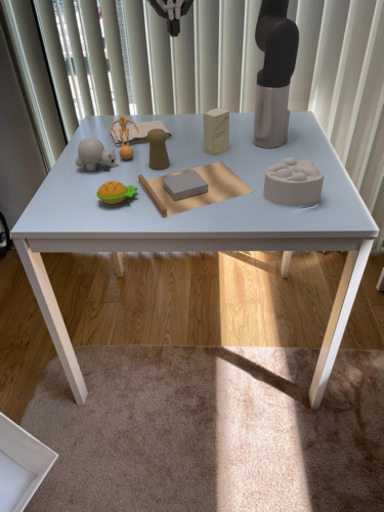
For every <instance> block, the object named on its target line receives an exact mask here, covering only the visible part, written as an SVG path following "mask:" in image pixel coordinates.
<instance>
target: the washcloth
mask: <svg viewBox="0 0 384 512" xmlns="http://www.w3.org/2000/svg"><path fill="white" fill-rule="evenodd" d="M135 124H136V126H137V128H138V130H139V133H137V129H136V128H135V126H134V124H133V123H131V124H127V126H126V129H127V128H128V129H129V137H128V138H129V146H130V147H131V146H135V145H141V144H147V143H148V144H149V142H148V140H147V133H148V132H149V131H150V130H152V129H162V130H164V131H165V133H166V135H167V138H166V140H169V139H171V138H172V137H173V134H172V132H171V131H170V130H169V129H168V128H167V126H166V125H165V123H164V122H163V121H162V120H151V121H145V122H144V121H142V122H138V123H135ZM119 129H122V128H121V126H120V125H119V126H113V128H112V130H111V135H112V139H113V141H114V144H115V147H116V148H117V147H119V148H121V147H122V140H121V138H120V131H119ZM122 138H123V140H124V145H127V137H126V135H125V132H123V136H122Z"/></svg>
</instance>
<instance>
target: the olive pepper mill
mask: <svg viewBox="0 0 384 512" xmlns="http://www.w3.org/2000/svg"><path fill="white" fill-rule="evenodd" d="M166 138H167V135H166V133H165V131H164V130H162V129H152V130H150V131H149V132H148V133H147V140H148V144H149V154H148V155H149V159H148V164H149V165H148V166H149V168H150V170H151V171H152V170H153V171H165V170H167V169H168V168H169V167H170V166H171V162H170V158H169V153H168V149H167V145H166V141H167V139H166Z"/></svg>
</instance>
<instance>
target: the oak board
mask: <svg viewBox="0 0 384 512" xmlns="http://www.w3.org/2000/svg"><path fill="white" fill-rule="evenodd" d="M194 170H195V171H196V172H197V173H198V174H199V175H200V176H201V177H202V178H203V179H204V181H205V182H206V183H207V184H208V192H204V193H200V194H197V195H193V196H189V197H186V198H182V199H178V200H175V201H174V199H173V198H172V197H171V195H170V194H169V193H168V191H167V190H166V189H165V188H164V186H163V182H162V178H166V177H170V176H174V175H178V174H182V173H186V172H190V171H194ZM137 179H138V183H139V184H140V187H142V189H143V190H144V192H145V193H146V195H147V196H148V198H149V199H150V200H151V202H152V203H153V204H154V206H155V208H156V209H157V211H158V212H159V214H160V216H161V217H162V218H166V217H169V216H174V215H178V214H180V213H184V212H188V211H191V210H194V209H198V208H202V207H205V206H209V205H212V204H216V203H219V202H223V201H227V200H230V199H234V198H237V197H240V196H245V195H248V194H251V193H254V192H255V191H254V189H252V188H251V187H250V186H249V185H248V184H246V182H244V180H242V179H241V178H240V177H239V175H237V174H236V173H235V172H233V170H232V169H231V168H229V166H227V165H226V164H225V162H223V161H220V160H219V161H217V162H212V163H209V164H205V165H202V166H201V165H200V166H197V167H193V168H189V169H185V170H180V171H176V172H174V173H173V172H172V173H168V174H165V175H162V176H157V177H154V178H153V177H152V178H148V179H146V178H145V177H144V176H143V174H141V173H139V174H138V175H137Z"/></svg>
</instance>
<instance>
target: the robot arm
mask: <svg viewBox="0 0 384 512" xmlns="http://www.w3.org/2000/svg"><path fill="white" fill-rule="evenodd" d="M146 1H147V3H148V4H149V5H150V6H151V8H152V9H153V10H154V12H156V14H157V15H158V16H159V17H160V18H162V19H166V27H167V28H166V30H167V34H168V35H169V37H171V38H177V37H179V35H180V34H181V20H180V19H181V18H182V17H183V16H187V14H188V12H189V11H190V8H191V6H192V4H193V3H194V1H195V0H183V1H182V0H161V2H162V6H163V7H162V6H161V5H160V4H159V3H158V1H157V0H146ZM289 2H290V0H261V2H260V3H261V4H260V7H259V12H258V16H257V21H256V23H255V24H256V26H255V30H254V40H255V41H254V42H255V45H256V47H257V48H258V49H259V50H260V51H262V53H264V58H263V65H262V66H263V67H262V68H261V69H259V70H258V72H257V73H256V82H255V83H256V85H255V102H254V103H255V104H254V105H255V106H254V119H253V121H254V122H253V135H252V137H253V139H252V142H253V144H254V145H256V146H258V147H260V148H264V149H275V148H279V147H281V146H282V145H284V144H285V143H287V142H288V136H289V126H290V117H291V110H290V109H289V101H290V100H289V99H290V90H291V82H292V77H293V75H294V74H295V73H294V72H295V70H296V64H297V59H298V52H299V45H300V31H299V27H298V25H297V23H296V22H295V21H294V20H292V19H290V18H288V10H289Z"/></svg>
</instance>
